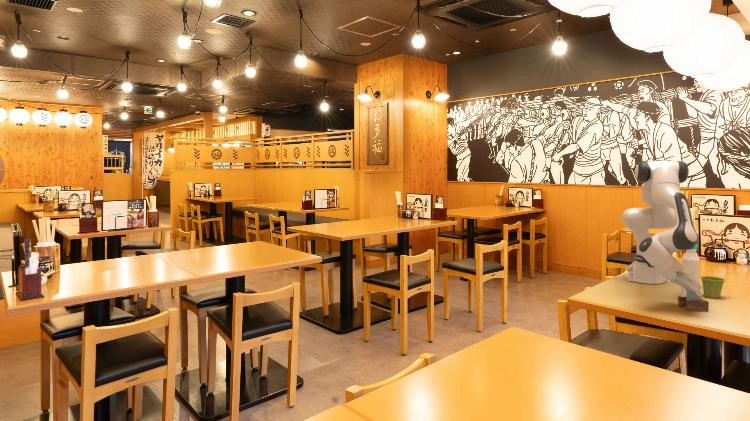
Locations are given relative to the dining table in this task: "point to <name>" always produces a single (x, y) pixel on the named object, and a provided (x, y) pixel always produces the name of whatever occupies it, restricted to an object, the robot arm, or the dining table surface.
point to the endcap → (693, 304)
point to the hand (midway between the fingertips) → (695, 292)
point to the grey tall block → (692, 296)
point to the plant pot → (712, 286)
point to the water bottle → (690, 266)
